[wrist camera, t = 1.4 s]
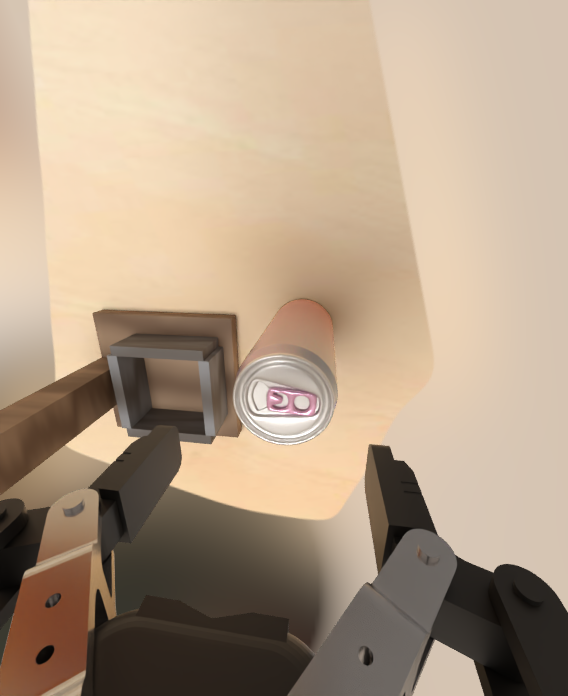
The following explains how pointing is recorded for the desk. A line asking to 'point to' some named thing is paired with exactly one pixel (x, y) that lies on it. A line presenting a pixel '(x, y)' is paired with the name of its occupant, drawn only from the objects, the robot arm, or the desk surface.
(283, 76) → the desk surface
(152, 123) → the desk surface
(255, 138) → the desk surface
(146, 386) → the post holder
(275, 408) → the beverage can
